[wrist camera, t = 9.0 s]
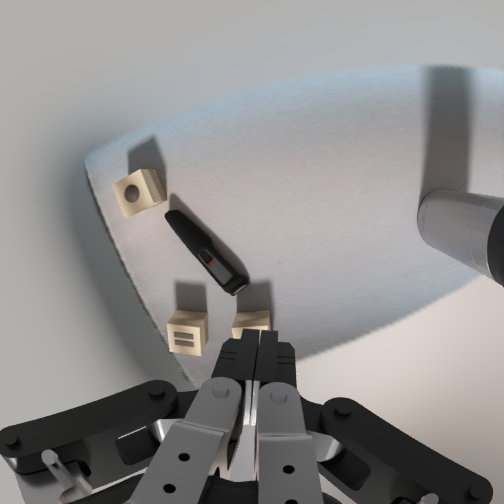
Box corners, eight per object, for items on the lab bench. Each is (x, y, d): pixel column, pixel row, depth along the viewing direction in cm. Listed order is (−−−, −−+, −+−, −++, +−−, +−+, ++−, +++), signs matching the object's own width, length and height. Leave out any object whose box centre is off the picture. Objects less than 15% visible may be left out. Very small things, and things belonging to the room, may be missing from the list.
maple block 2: (207, 312, 44) (199, 328, 39) (208, 339, 46) (200, 356, 41) (177, 309, 45) (166, 323, 40) (179, 335, 46) (169, 351, 41)
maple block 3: (269, 309, 43) (267, 326, 38) (272, 337, 44) (271, 355, 39) (236, 312, 44) (231, 328, 39) (241, 339, 45) (237, 357, 40)
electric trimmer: (182, 201, 41) (174, 203, 38) (252, 280, 43) (250, 288, 39) (165, 218, 42) (156, 221, 39) (233, 295, 43) (230, 304, 40)
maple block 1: (155, 169, 40) (139, 168, 35) (167, 199, 41) (153, 202, 36) (129, 184, 40) (111, 185, 36) (140, 213, 41) (124, 218, 36)
